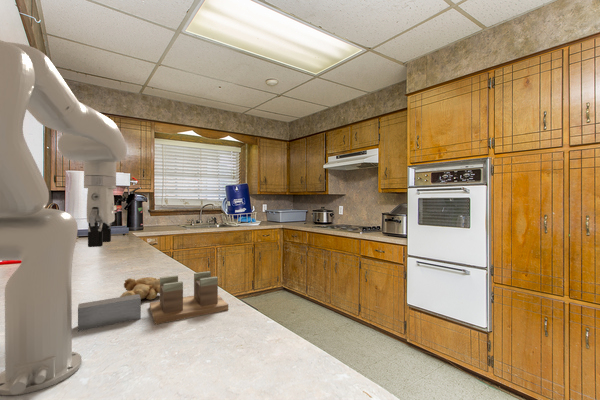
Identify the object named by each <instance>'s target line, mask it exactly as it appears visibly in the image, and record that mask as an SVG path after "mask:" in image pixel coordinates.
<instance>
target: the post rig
mask: <svg viewBox="0 0 600 400" xmlns="http://www.w3.org/2000/svg"><path fill="white" fill-rule="evenodd" d="M159 279H160V293H159V301H153V302H149V310H150V313H151V316H152V320H153V323H154V325H159V324H163V323H164V324H165V323H169V322H175V321H179V320H183V319H184V318H185V319H189V317H190V318H194V317H198V316H204V315H208V314H213V313H218V312H223V311H228V310H229V304H228V303H227V302H226V301H225V300H224V299H223V298H222V297H221V296H220V295H219V294H218V293H219V291H218V288H219V285H218V284H219V280H218V276H212V272H211V271H209V270H207V271H200V272H194V273H193V295H189V296H188V295H187V296H184V282H183V281H182V280H181V281H179V275H169V276H168V275H167V276H162V277H159Z"/></svg>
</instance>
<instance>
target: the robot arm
mask: <svg viewBox="0 0 600 400" xmlns="http://www.w3.org/2000/svg"><path fill="white" fill-rule="evenodd" d="M27 111H28V113H29V114H30V115H32V117H33V118H34V119H35V120H36V121H37V122H38V123H39V124H41V125H43V126H44V127H46V128H49V129H50V130H54V131H56V132H60V133H62V134H61V135H60V136H59V138H58V141H57V147H58V150H59V152H60V154H61V155H62V156H63V157H64V158H65V159H67V160H69V161H72V162H77V163H79V162H81V163H82V162H83V189H87V193H86V196H87V197H86V223H87V224H88V227H87V247H88V248H99V247H100V248H101V247H103V244H104V243H110V242H112V236H111V235H112V228H111V227H112V225H111V224H112V223H114V222H115V220H116V215H115V212H116V211H115V197H114V195H115V194H114V190H115V189H117V163H119V162H121V161H123V160H124V159H125V158H126V156H127V153H128V147H127V143H126V140H125V138H124V136H123V134H122V132H121V130H120V129H119V127H118V125H117V123H115V122H114V121H113V120H112V119H111V118H109V117H108V116H106V115H105V114H103V113H101V112H99V111H98V110H96V109H94V108H92V107H91V106H89V105H87V104H85V103H82V102H80V101H79V100H78V99H77V97H76V96H75V94H74V93H73V92H72V90H71V88H70V87H69V86H68V84H67V82H66V81H65V79H64V78H63V76H62V75H61V74H60V72H59V71H58V69H57V68H56V66H55V65H54V64H53V62H52V61H51V60H50V58H49V57H48V56H47V55H46V54H45V53H44V52H42V51H41V50H40V49H38V48H35V47H33V46H31V45H27V44H22V43H18V42H17V43H16V42H10V41H9V42H8V41H4V40H1V39H0V261H2V262H3V261H21V262H20V264H19V266H18V267H17V268H16V270H14V272H13V273H12V274H11V275H10V276H9V278H8V280H7V282H6V283H5V286H4V370H3V371H2V372H0V395H2V396H17V395H18V394H19V395H24V393H25V394H30V393H33V392H36V391H40V390H43V389H46V388H48V387H51V386H54V385H55V384H57V383H58V384H59V383H60V382H62V381H64V380H65V379H67V378H69V377H70V376H72V375H73V374H74V373H76V372H77V371H78V370H79V368H80V367H81V365H82V361H83V360H82V356H81V355H80V354H79V353H78V352H75V351H73V350H72V349H73V347H72V346H73V345H72V344H73V340H72V338H73V337H72V335H73V334H72V333H73V332H72V331H73V329H72V328H73V326H72V325H73V323H72V322H73V321H72V319H73V316H72V313H73V312H72V311H73V310H72V304H73V303H72V302H73V301H72V299H73V298H72V294H73V293H72V287H73V286H72V278H73V277H72V276H73V275H72V273H73V259H74V252H75V248H76V247H75V246H76V242H77V237H78V232H79V231H78V230H79V228H78V222H77V220H76V218H75V217H74V216H73V215H72V214H70V213H69V212H68V211H64V210H61V209H55V208H46V207H47V205H48V203H49V201H50V192H49V189H48V186H47V183H46V181H45V179H44V176H43V174H42V172H41V171H40V168H39V167H38V164H37V162H36V160H35V158H34V156H33V154H32V153H31V150H30V148H29V146H28V144H27V141H26V138H25V136H24V130H23V129H24V121H25V116H26V112H27ZM29 392H30V393H29ZM19 395H18V396H19Z"/></svg>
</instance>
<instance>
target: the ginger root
mask: <svg viewBox="0 0 600 400" xmlns="http://www.w3.org/2000/svg"><path fill="white" fill-rule="evenodd" d="M123 288H124V289H125V292H122V294H121V295H120V296H119V297H124V296H130V295H136V294H139V295H140V297H141V300H143V299H144V300H145V298H146V300H151V301H152V300H155V299H157V297H158V294H160V278H157V277H151V276H147V277H140V278H138V279H135V278H127V279H126V280H124V283H123Z"/></svg>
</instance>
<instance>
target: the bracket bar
mask: <svg viewBox="0 0 600 400" xmlns="http://www.w3.org/2000/svg"><path fill="white" fill-rule="evenodd" d="M141 300H142V299H141V297H140V295H139V294H136V295H130V296H124V297H120V296H119V297H118V296H117V297H113V298H107V299H106V298H105V299H100V300H94V301H93V300H92V301H88V302H80V303H78V307H77V332H83V331H87V330H93V329H98V328H101V327H102V328H103V327H107V326H112V325H117V324H123V323H127V322H132V321H137V320H141V319H142V318H141V317H142V316H141V315H142V314H141V313H142V310H141V308H142V307H141V305H142V304H141V303H142V301H141Z"/></svg>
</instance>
